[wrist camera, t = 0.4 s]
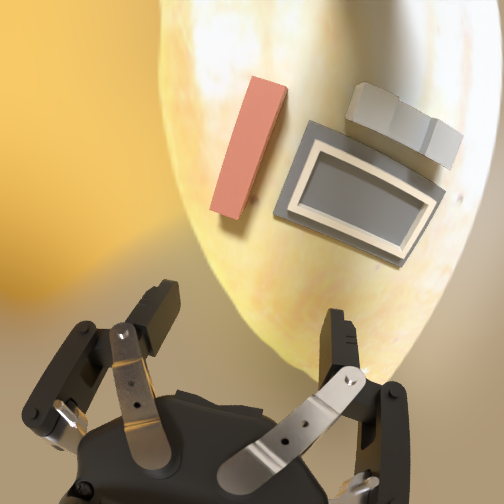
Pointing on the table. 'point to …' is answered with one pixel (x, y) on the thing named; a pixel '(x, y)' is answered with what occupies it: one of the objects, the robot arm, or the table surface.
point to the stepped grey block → (403, 124)
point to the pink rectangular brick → (247, 146)
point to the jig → (357, 195)
